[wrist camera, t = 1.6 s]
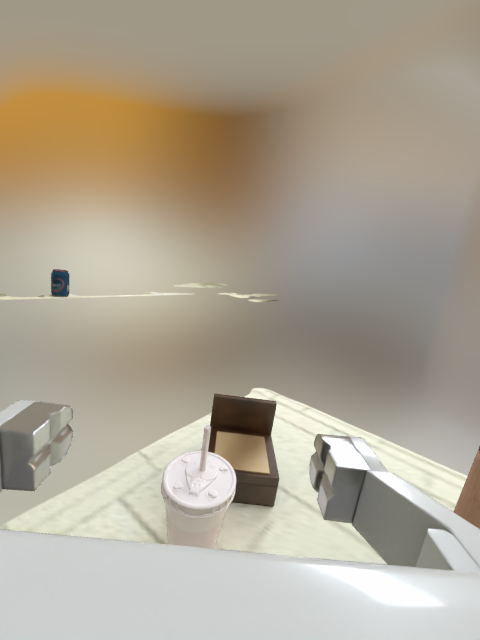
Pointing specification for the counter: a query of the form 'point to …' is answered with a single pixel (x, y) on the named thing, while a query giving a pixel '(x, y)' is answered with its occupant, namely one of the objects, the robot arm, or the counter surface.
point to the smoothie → (197, 496)
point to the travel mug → (471, 495)
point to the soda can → (60, 283)
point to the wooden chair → (246, 445)
